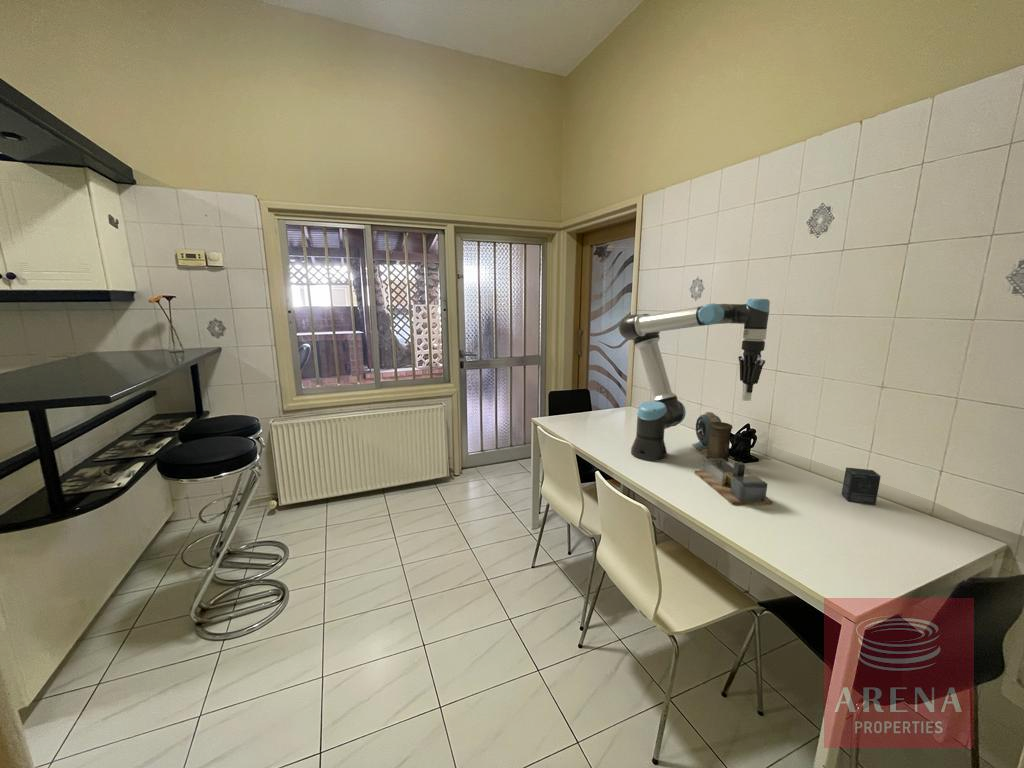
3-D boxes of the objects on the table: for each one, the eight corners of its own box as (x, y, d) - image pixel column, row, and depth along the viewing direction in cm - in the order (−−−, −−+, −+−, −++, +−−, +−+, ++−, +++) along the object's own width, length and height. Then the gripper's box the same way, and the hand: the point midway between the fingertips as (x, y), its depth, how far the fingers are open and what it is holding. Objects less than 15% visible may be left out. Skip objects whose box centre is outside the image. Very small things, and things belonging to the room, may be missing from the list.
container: (706, 468, 165) (710, 426, 162) (703, 460, 174) (707, 420, 170) (730, 471, 162) (735, 428, 159) (726, 463, 171) (731, 422, 167)
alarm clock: (690, 443, 194) (693, 408, 191) (710, 444, 194) (714, 408, 190) (702, 454, 180) (706, 416, 177) (724, 455, 180) (729, 417, 176)
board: (694, 472, 161) (694, 470, 160) (728, 472, 161) (728, 470, 161) (732, 504, 135) (732, 502, 135) (772, 504, 136) (772, 501, 136)
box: (867, 498, 140) (873, 469, 138) (875, 505, 135) (881, 476, 133) (840, 494, 143) (845, 466, 141) (847, 501, 138) (852, 472, 136)
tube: (721, 481, 150) (724, 456, 148) (732, 481, 150) (735, 456, 148) (744, 499, 136) (748, 472, 134) (756, 499, 136) (760, 472, 134)
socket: (730, 493, 141) (732, 476, 140) (753, 493, 141) (756, 476, 140) (740, 501, 135) (742, 483, 134) (765, 501, 135) (767, 483, 134)
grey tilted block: (702, 470, 160) (703, 458, 159) (721, 470, 161) (722, 458, 160) (721, 486, 147) (723, 473, 146) (742, 485, 147) (744, 472, 146)
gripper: (734, 338, 159) (727, 396, 164) (755, 341, 146) (747, 404, 151) (752, 338, 159) (745, 396, 164) (775, 341, 147) (766, 404, 151)
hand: (746, 400), depth 158 cm, fingers closed
